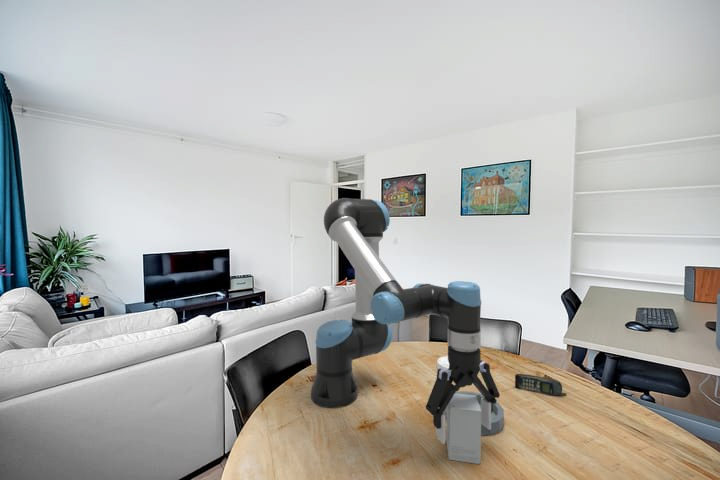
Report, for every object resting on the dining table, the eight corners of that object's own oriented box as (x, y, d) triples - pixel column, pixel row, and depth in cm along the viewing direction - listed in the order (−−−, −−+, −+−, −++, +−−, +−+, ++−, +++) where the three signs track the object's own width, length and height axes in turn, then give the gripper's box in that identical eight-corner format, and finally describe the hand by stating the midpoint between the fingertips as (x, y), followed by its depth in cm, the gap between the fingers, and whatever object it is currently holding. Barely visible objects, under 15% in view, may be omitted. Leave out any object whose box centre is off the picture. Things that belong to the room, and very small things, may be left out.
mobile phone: (515, 375, 104) (567, 383, 98) (514, 371, 107) (565, 379, 101) (515, 389, 105) (567, 398, 98) (514, 385, 107) (566, 394, 101)
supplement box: (481, 465, 71) (482, 411, 70) (448, 460, 72) (448, 407, 72) (476, 443, 78) (476, 394, 78) (445, 439, 80) (446, 391, 79)
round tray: (433, 407, 93) (433, 397, 93) (475, 397, 99) (475, 387, 99) (470, 441, 79) (470, 429, 78) (516, 427, 84) (517, 415, 84)
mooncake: (434, 362, 125) (434, 354, 125) (463, 363, 125) (464, 354, 125) (440, 377, 113) (440, 367, 113) (473, 377, 113) (473, 368, 113)
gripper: (428, 360, 66) (429, 457, 67) (515, 344, 75) (515, 429, 76) (410, 348, 73) (411, 436, 74) (492, 335, 82) (492, 413, 83)
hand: (463, 433), depth 75 cm, fingers open, 13 cm apart
